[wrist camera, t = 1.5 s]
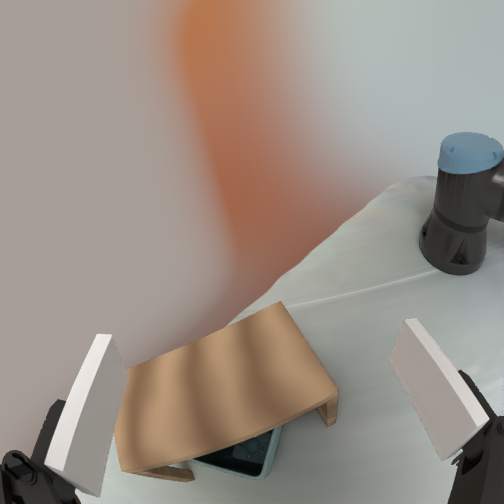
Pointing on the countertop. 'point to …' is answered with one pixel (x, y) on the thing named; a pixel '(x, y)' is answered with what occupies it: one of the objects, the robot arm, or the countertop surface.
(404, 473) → the countertop surface
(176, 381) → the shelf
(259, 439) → the flower pot
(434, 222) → the robot arm
